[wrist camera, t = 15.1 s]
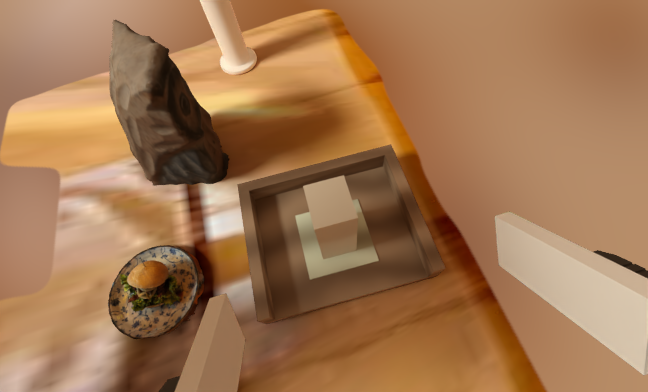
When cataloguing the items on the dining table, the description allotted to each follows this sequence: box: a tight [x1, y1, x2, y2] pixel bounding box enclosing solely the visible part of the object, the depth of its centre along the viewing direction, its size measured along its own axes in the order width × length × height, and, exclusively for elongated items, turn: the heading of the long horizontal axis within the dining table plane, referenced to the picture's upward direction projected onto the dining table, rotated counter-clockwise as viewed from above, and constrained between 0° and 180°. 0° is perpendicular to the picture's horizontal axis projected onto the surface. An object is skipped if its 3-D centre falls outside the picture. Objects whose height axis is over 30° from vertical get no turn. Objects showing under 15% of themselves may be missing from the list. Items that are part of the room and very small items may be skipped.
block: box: [303, 175, 358, 259], centre depth 36 cm, size 5×4×11 cm
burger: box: [108, 245, 204, 339], centre depth 38 cm, size 12×12×8 cm
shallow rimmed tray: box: [238, 145, 445, 324], centre depth 41 cm, size 18×22×4 cm
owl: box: [110, 20, 229, 185], centre depth 41 cm, size 13×13×20 cm
